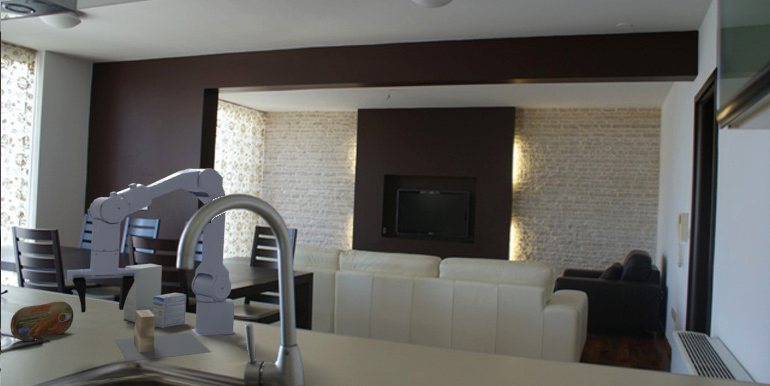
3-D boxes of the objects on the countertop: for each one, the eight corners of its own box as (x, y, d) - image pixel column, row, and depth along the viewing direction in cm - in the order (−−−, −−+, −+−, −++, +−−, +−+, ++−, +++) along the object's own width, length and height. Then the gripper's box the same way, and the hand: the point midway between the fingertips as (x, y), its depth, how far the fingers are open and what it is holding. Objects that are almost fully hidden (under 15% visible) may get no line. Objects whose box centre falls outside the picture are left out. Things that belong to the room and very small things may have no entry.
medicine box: (173, 322, 160) (175, 292, 160) (185, 324, 158) (186, 294, 158) (151, 328, 153) (152, 296, 153) (163, 330, 151) (164, 298, 151)
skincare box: (148, 315, 168) (151, 263, 168) (161, 318, 164) (163, 265, 164) (121, 319, 161) (124, 265, 161) (134, 323, 157) (137, 267, 158)
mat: (190, 334, 147) (190, 332, 147) (211, 354, 130) (211, 351, 130) (114, 342, 137) (114, 339, 137) (126, 364, 120) (126, 361, 120)
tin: (15, 344, 132) (17, 309, 132) (7, 343, 133) (8, 307, 133) (73, 331, 145) (75, 299, 146) (65, 330, 147) (66, 298, 147)
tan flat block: (147, 342, 135) (148, 309, 136) (153, 350, 129) (155, 316, 129) (133, 343, 134) (135, 310, 134) (139, 352, 127) (141, 317, 127)
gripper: (137, 248, 134) (134, 304, 134) (67, 248, 126) (64, 309, 126) (142, 251, 128) (139, 310, 128) (69, 252, 120) (66, 315, 120)
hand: (102, 310), depth 127 cm, fingers open, 7 cm apart
